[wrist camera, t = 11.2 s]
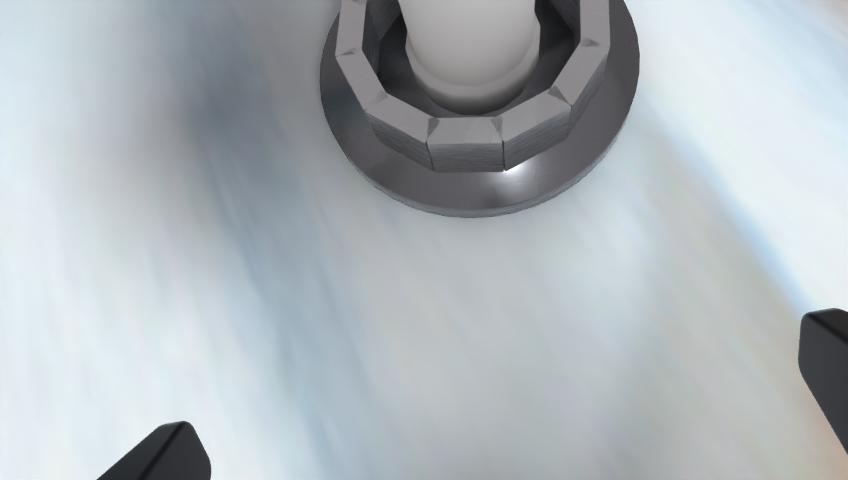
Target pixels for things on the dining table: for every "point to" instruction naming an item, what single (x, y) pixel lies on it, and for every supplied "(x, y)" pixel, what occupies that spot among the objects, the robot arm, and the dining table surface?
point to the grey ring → (480, 134)
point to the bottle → (471, 51)
